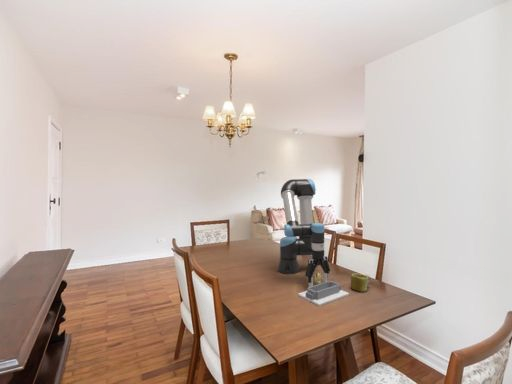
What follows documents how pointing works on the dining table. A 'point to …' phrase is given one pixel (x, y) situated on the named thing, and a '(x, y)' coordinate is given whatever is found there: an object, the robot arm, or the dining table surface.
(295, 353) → the dining table surface
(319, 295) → the white grey flat tray
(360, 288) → the mug
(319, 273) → the pin
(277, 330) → the dining table surface
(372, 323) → the dining table surface
